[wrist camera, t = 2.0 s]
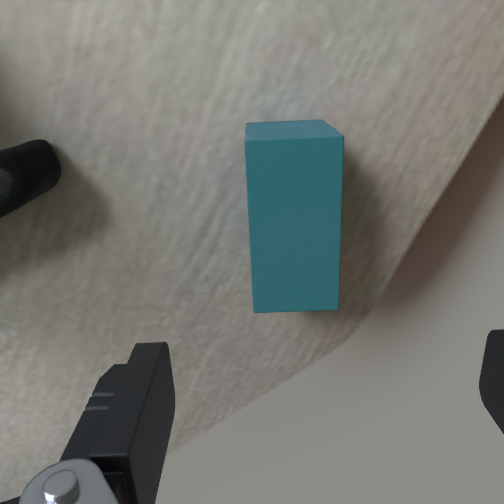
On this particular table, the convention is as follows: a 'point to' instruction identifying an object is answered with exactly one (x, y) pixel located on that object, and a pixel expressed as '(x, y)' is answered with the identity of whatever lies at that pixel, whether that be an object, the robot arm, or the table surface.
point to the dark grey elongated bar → (26, 174)
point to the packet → (294, 214)
